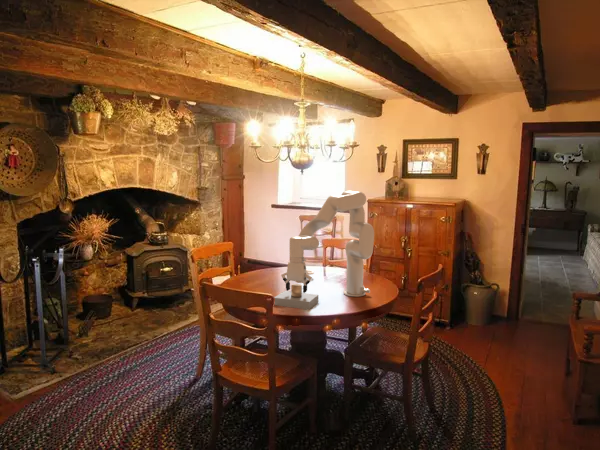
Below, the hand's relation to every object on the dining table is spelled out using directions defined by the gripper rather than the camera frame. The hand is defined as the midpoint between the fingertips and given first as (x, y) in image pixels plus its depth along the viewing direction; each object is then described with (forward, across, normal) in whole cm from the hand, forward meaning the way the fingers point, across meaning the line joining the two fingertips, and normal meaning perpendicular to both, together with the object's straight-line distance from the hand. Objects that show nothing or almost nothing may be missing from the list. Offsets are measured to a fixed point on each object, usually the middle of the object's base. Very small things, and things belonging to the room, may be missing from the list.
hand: (296, 291), depth 233 cm
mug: (+7, +16, -52) cm, 55 cm away
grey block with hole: (+7, 0, 0) cm, 7 cm away
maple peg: (+6, 0, 0) cm, 6 cm away
